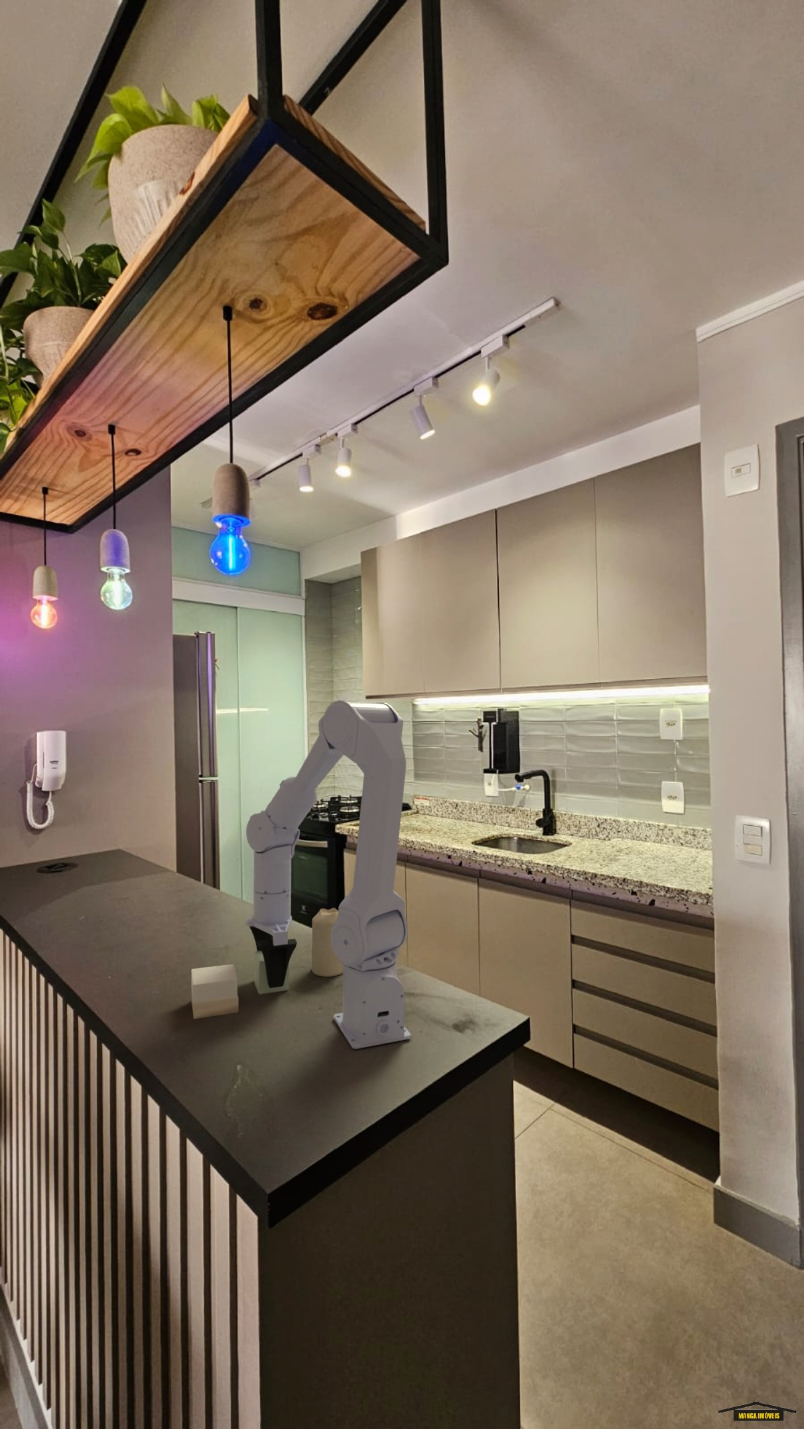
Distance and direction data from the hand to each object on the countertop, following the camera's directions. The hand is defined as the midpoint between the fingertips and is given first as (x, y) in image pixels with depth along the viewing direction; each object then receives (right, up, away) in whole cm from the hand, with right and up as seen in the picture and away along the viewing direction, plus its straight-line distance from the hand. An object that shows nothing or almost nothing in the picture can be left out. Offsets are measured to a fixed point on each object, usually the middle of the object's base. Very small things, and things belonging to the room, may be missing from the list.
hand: (271, 977), depth 99 cm
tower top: (-7, +1, -7) cm, 10 cm away
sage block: (0, -2, 0) cm, 2 cm away
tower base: (-7, -2, -7) cm, 10 cm away
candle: (+8, -2, +6) cm, 11 cm away
